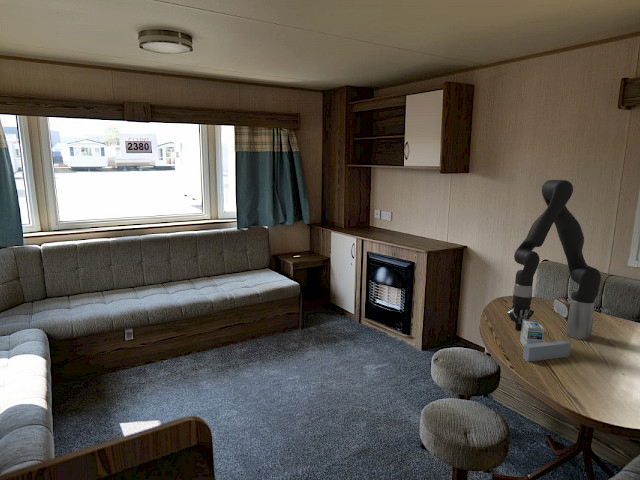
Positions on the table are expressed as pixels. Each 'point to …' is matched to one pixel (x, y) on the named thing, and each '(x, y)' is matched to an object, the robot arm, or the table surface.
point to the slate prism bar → (546, 350)
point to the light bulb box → (531, 332)
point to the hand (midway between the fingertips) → (518, 330)
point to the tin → (561, 307)
